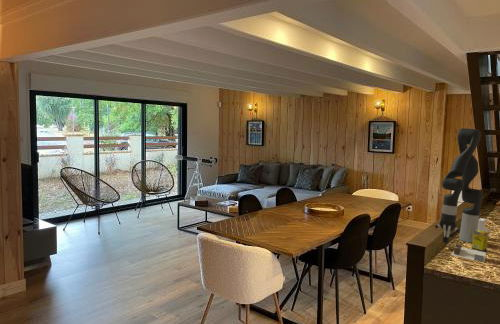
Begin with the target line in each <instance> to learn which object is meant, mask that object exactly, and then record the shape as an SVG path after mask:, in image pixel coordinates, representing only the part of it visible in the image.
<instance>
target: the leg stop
mask: <svg viewBox="0 0 500 324" xmlns="http://www.w3.org/2000/svg"><path fill="white" fill-rule="evenodd" d="M476 260H477V262H480V261H482V262H481V263H484V262H483V260H484V256H481V255H476V254H475V258H474V260H473V261H476Z"/></svg>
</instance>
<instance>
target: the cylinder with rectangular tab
mask: <svg viewBox="0 0 500 324" xmlns="http://www.w3.org/2000/svg"><path fill="white" fill-rule="evenodd" d="M486 221H487V219H486V218H482V217H479V223H478V230H481V231H486V232H489V233H490V229H489V228H486V227H485V226H486Z"/></svg>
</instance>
